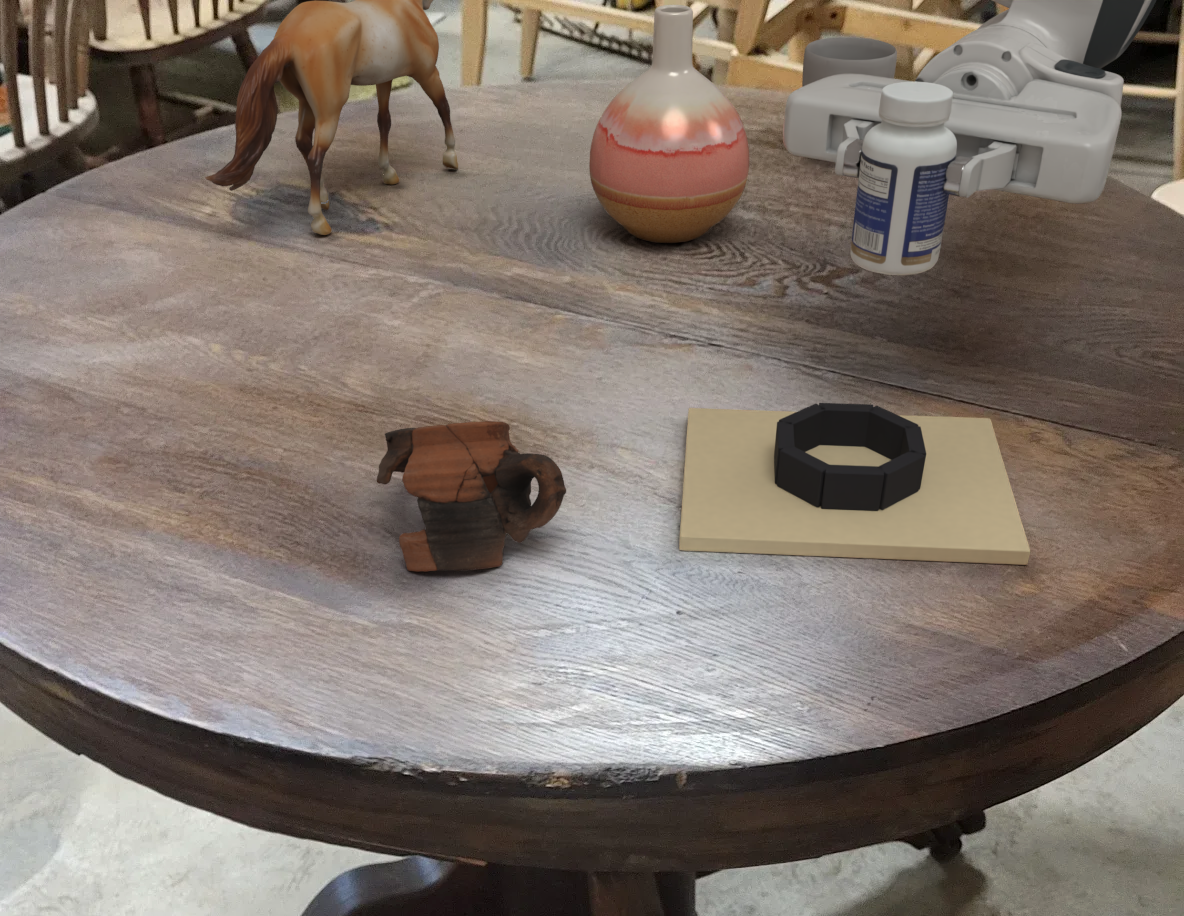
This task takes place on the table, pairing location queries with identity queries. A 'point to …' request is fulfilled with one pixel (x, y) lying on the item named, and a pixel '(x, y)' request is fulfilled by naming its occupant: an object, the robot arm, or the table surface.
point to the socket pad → (848, 486)
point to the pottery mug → (469, 492)
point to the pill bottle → (904, 181)
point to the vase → (669, 144)
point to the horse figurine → (335, 83)
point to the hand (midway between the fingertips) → (901, 172)
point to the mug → (848, 58)
